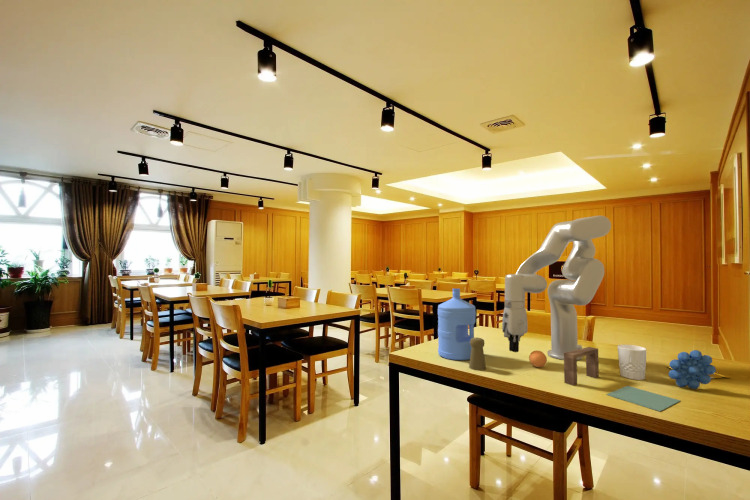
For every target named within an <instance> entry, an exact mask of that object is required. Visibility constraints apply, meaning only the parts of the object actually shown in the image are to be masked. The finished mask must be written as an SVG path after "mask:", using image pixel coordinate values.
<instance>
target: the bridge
mask: <svg viewBox="0 0 750 500" xmlns="http://www.w3.org/2000/svg"><path fill="white" fill-rule="evenodd" d="M578 357H582V358H583V357H585V365H586V366H585V367H586V369H585V370H586V373H585V374H586V377H590V378H593V379H599V378H600V372H599V371H600V368H599V348H598V347H597V348H596V347H591V346H586V347H582V349H578V350H573V351H569V352H565V353H564V360H563V371H564V372H563V373H564V374H563V375H564V377H563V378H564V379H563V381H564V383H565V384H567V385H570V386H577V385H578V365H577V364H578V360H577V358H578Z"/></svg>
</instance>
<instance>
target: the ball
mask: <svg viewBox="0 0 750 500" xmlns="http://www.w3.org/2000/svg"><path fill="white" fill-rule="evenodd" d="M528 360H529V362H530V363H531V365H532V366H533V367H536V368H543V367H544V366H546V364H547V362H548V359H547V355H546V354H545V353H544V352H543V351H541V350H533V351H531V352H530V354H529V357H528Z"/></svg>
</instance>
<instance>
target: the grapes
mask: <svg viewBox="0 0 750 500" xmlns="http://www.w3.org/2000/svg"><path fill="white" fill-rule="evenodd" d="M712 363H713V358H712V356H710V355H708V354H706V355H705V354H704V355H703V354H702V352H701V351H700V350H697V349H696V350H695V349H693V350H691V351H690V352H686V351H681V352H679V353H678V354H677V359H672V360H671V361H670V362H669V366H670V367H671V368H672V369H673V370H672V369H670V370H669V372H668V376H669V378H670V379H672V380H675V384H676V386H677V387H680V388H684V387H685V388H686V386H687V387H688V388H689V389H691V388H692V389H693V390H696V389H699V388H700V385H707V384H709V383H710V382H711V380H712V378H710V377H711V375H715V374H714V373H715V372H717V368H716V366H715V365H714V364H712Z"/></svg>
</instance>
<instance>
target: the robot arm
mask: <svg viewBox="0 0 750 500" xmlns="http://www.w3.org/2000/svg"><path fill="white" fill-rule="evenodd" d="M611 229H612V222H611V220H610V219H609V218H608V217H607V216H604V215H594V216H593V215H592V216H588V217H587V216H586V217H580V218H576V219H574V220H569V221H562V222H557V223H555V224H554V225H553V226H552V227H551V228H550V230H549V231H548V233H547V235H546V237H545V239H544V240H543V242H541V243H542V244H541V245H540V247H539V249H538V250H537V251H535V252H534V253H533V254H531V255H530V256H529V257H528V258H527V259H525V261H523V263H521V264H520V266H519V267H518V269H517V271H516V273H514V274H513V273H509V274H506V275H505V277H504V308H503V314H502V321H501V322H502V324H501V326H502V327H501V330H502V333H504V334H503V337H504V338H507V340H508V344H509V345H508V346H509V347H508V348H509V352H513V353H518V352H519V349H520V346H519V345H520V341H521V337H523V336H524V335H525V334H527V333H528V327H529V326H528V315H527V309H526V306H525V305H526V293H531V294H540V293H542V292H544V291H546V289H547V296H548V300H549V306H550V335H551V337H550V338H551V339H550V340H551V343H550V344H551V349H548V351H547V352H546V353H547V355H548V356H549V357H550V358H554V359H558V360H563V361H564V353H565V352H569V351H573V350H578V349H582V348H583V346H582V345H581V344H578V313H577V310H576V308H575V305H576V306H586V305H588V304H589V303H591V302H592V300H593V298H594V297H595V295H596V293H597V292H598V291H597V290H599V287H600V285H601V283H602V281H603V279H604V276H605V267H604V264H603V262H602V261H601V260H599V259H597V258H594V257H595V255H596V246H595V244H594V242H593V240H594V239H597V238H601V237H605V236H607V234H609V233H610V231H611ZM592 239H593V240H592ZM571 242H572V244H573V245H572V249H571V251H570V253H569V255H568V257H567V259H566V260H565V262H564V263H563V265H562V270H561V273H562V277H564V278H565V279H555V280H553V281H551V282H550V283H549V285H548V282H547V280H546V279H545V277H544V276H542V275H539V274H536V273H538V272H539V271H540V270H542V269H543V268H545V267H549V266H550V265H553V264H554V263H556V262H558V261H559V260H560V259H561V257H562V254H563V253H564V252H565V249H566V248H567V246H568V245H569V243H571ZM582 359H583V356H582V357H578V358H577V361H580V360H582Z"/></svg>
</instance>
